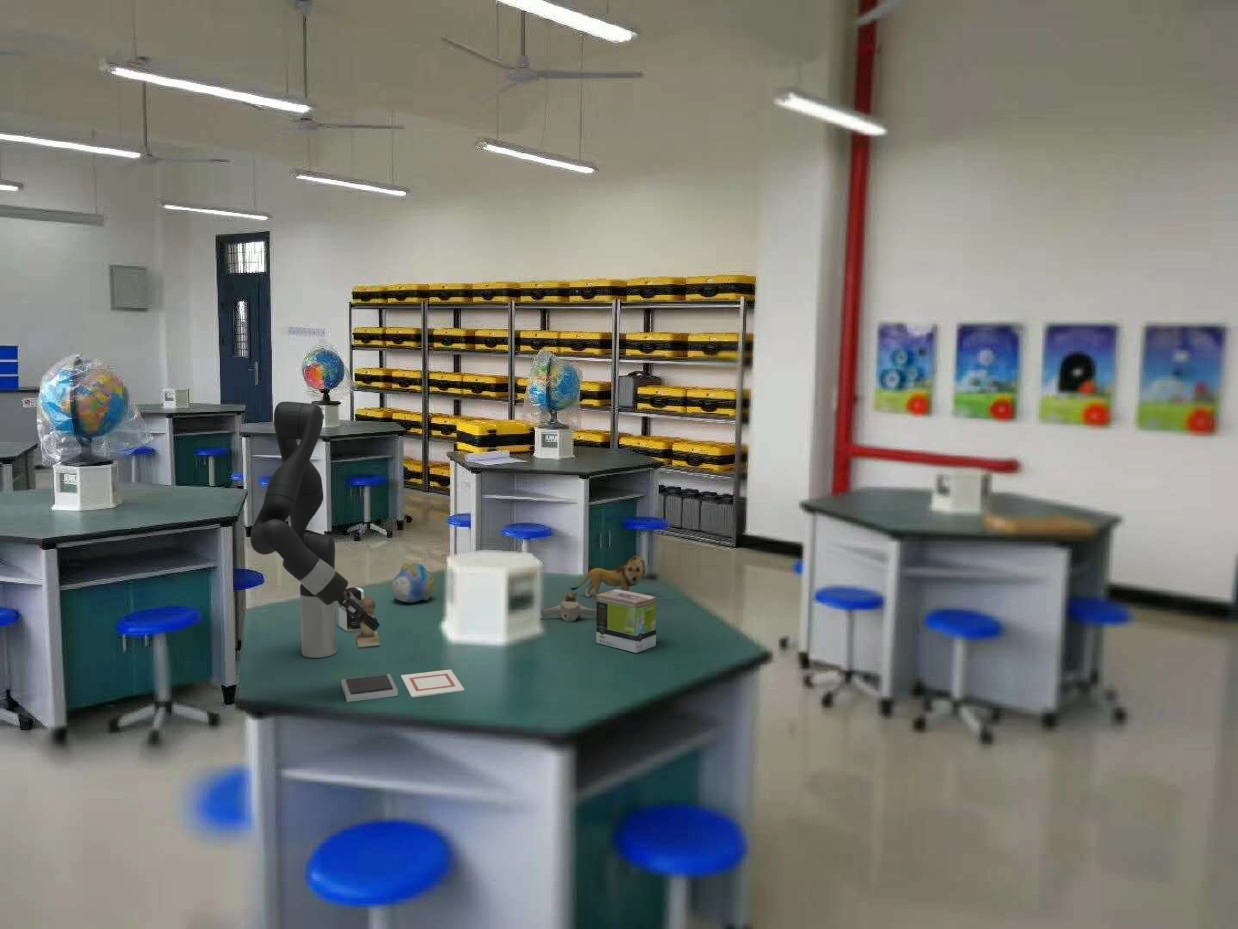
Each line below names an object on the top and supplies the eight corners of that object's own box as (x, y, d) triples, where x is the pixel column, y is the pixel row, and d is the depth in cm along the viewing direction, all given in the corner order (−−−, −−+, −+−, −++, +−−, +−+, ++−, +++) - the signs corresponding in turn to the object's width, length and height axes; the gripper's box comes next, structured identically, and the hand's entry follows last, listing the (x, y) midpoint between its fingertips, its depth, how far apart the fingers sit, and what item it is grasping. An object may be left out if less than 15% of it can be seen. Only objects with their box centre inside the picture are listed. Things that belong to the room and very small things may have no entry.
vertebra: (602, 606, 311) (602, 582, 306) (603, 628, 302) (603, 603, 297) (538, 607, 310) (538, 582, 305) (537, 629, 301) (536, 604, 296)
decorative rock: (396, 561, 313) (439, 559, 320) (384, 566, 326) (425, 564, 333) (398, 603, 311) (441, 599, 318) (386, 606, 324) (428, 603, 331)
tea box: (657, 646, 277) (657, 596, 275) (635, 654, 269) (636, 603, 267) (616, 635, 286) (617, 587, 284) (594, 643, 278) (595, 593, 276)
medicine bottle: (347, 632, 287) (346, 592, 285) (338, 626, 292) (337, 587, 291) (370, 628, 291) (369, 589, 289) (361, 622, 296) (360, 584, 295)
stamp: (356, 643, 238) (355, 596, 237) (376, 641, 240) (375, 594, 239) (358, 649, 234) (357, 601, 232) (379, 647, 235) (378, 599, 234)
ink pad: (341, 685, 242) (341, 678, 241) (390, 680, 246) (389, 672, 246) (347, 702, 231) (346, 694, 230) (397, 696, 235) (397, 688, 235)
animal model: (642, 603, 322) (643, 559, 320) (567, 598, 327) (567, 555, 325) (647, 596, 331) (647, 554, 329) (574, 592, 336) (574, 550, 334)
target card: (401, 676, 249) (400, 675, 249) (450, 671, 253) (450, 669, 253) (411, 697, 234) (411, 695, 234) (464, 691, 239) (464, 689, 239)
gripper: (337, 576, 225) (391, 622, 231) (331, 563, 238) (382, 607, 244) (314, 600, 224) (369, 645, 230) (309, 586, 237) (361, 629, 243)
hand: (375, 625), depth 237 cm, fingers closed on stamp, 3 cm apart
